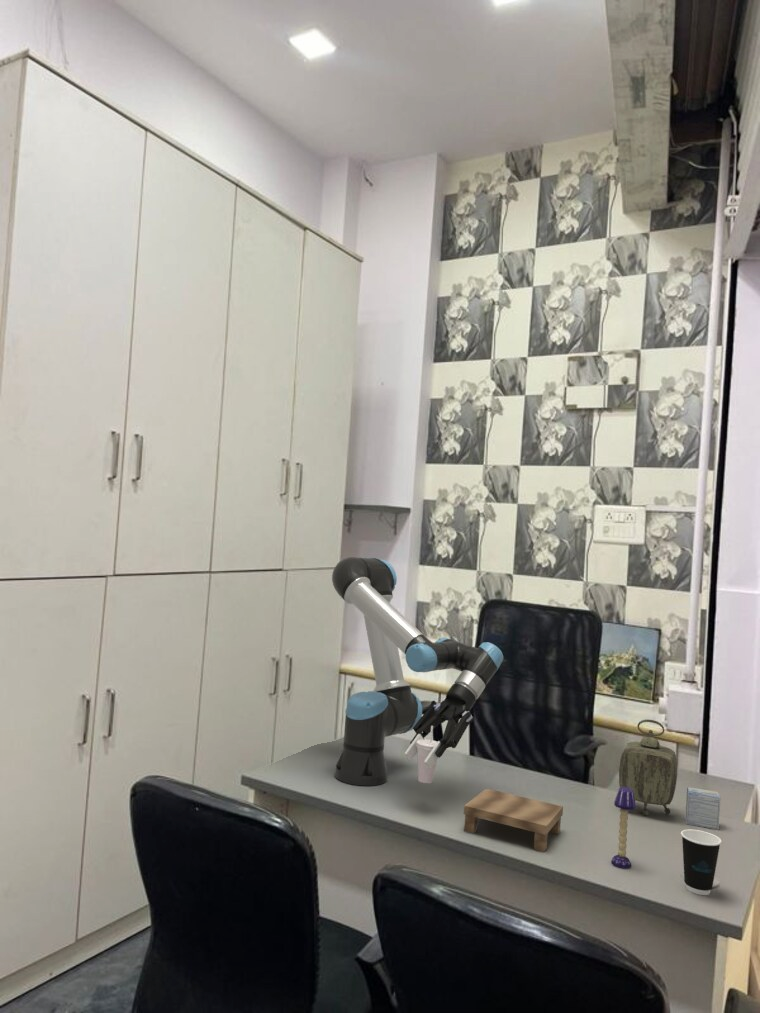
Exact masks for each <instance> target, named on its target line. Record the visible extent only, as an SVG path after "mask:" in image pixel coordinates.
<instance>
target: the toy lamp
mask: <svg viewBox="0 0 760 1013" xmlns="http://www.w3.org/2000/svg"><path fill="white" fill-rule="evenodd" d="M636 804H637V803H636V800H635V798H634V793H633V790H632V789H631V788H628V787H620V786H619V788H618V789H617V793H616V797H615V799H614V803H613V805H614V806H615V807H616V808H618V809H619V810H620V814H619V824H618V826H619V828H618V833H619V835H618V844H617V846H618V850H617V854H616V855H614V856H613V857H612V858H611V861H610V862H611V865H612V864H613V865H612V866H614V867H616V868H620V869H629V868H632V863H631V860H630V859H629V858H628V857H627V850H626V849H627V841H628V838H627V835H628V829H627V828H628V826H629V824H628V820H629V815H628V814H629V811H633V810H636V809H637V808H636V807H637V805H636Z"/></svg>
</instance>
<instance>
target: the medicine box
mask: <svg viewBox="0 0 760 1013" xmlns="http://www.w3.org/2000/svg"><path fill="white" fill-rule="evenodd" d="M720 810H721V796H720V794H719V792H718V791H714V790H708V789H702V788H695V787H689V786H688V787H687V788H686V804H685V823H686V825H690V826H695V827H700V828H706V829H713V830H720V828H719V827H720Z"/></svg>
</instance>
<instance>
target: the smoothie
mask: <svg viewBox="0 0 760 1013" xmlns="http://www.w3.org/2000/svg"><path fill="white" fill-rule="evenodd" d="M433 732H434V729H433V726H431V732H430V733H429V739H427V738H426V739H425V738H424V739H421V740H417V741H416V746H417V753H416V755H417V781H418V782H420V783H422V784H423V783H424V784H431V783H433V780H434V775H435V771H436V766H437V761H438V759H437V760H436V762H435V763H434V765H433V766H432V768H431V769H429V768H428V767H427V765H426V764H425V762H424V761H425V759H426V758H427V756H428V755H429V753H430V752H431V750H432V749H433V748H434V746H435V745H436V743H437V742H438V741H436V740H433V736H434V734H433Z"/></svg>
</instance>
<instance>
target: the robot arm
mask: <svg viewBox="0 0 760 1013" xmlns="http://www.w3.org/2000/svg"><path fill="white" fill-rule="evenodd" d="M331 574H332V575H331V580H332V581H331V582H332V586H333V588H334V590H335V592H336V593H337V594H338V595H339V596H340V598H342V600H343V601H345V603H347V604H349V605H353V606H354V607H355V608H357V610H359V611H360V612H361V613H362V615H363V617H364V618H363V620H364V625H365V630H366V635H367V640H368V641H367V642H368V646H369V651H370V657H371V663H372V668H373V673H374V679H375V683H376V685H375V687H374V688H373V690H372V691H359V692H356V693H353V694H351V695H350V696H349V697H348V699H347V702H346V708H345V718H344V719H345V720H344V731H343V732H344V733H343V746H342V750H341V753H340V755H339V758H338V759H337V760H338V761H337V762H336V765H335V768H334V777H335V778H336V779H337V780H338V779H339V780H338V781H340V782H342V783H345V784H348V785H354V786H366V787H367V786H368V787H369V786H370V787H371V786H379V785H383V784H385V783H386V782H387V781H388V780H389V779H388V776H389V770H388V766H387V762H386V757H385V752H384V750H385V749H384V748H385V737H390V736H391V737H392V736H395V735H402V734H405V733H408V732H410V731H412V730H414V732H415V735H414V737H412V739H411V741H410V745H409V746H408V748H407V749H406V751H405V752H404V755H405V756H406V759H408V761H412V760H413V758H414V757H415V756H416V755H417V746H416V741H417V740H421V739H425V738H426V737H427V736H428V735H430V733H431V726H433V730H435V729H436V728H437V727H438V726H439V725H440V724H443V723H445V722H446V721H447V722H446V725H445V729H444V732H443V734H442V738H440V739H439V740H438V741H437V743H436V745H435V746H434V748H433V749H432V750H431V752H430V753H429V755H428V756H427V758H426V759H425V761H424V762H425V764H426V765H427V767H428V768H429V769H431V768H432V766H433V765H434V763H435V762H436V760H437V761H438V759H439V758H441V757H442V756H443V755H444V753H445V751H446V750H447V749H449V748H452V749H455V748H456V747H458V744H459V742H460V741H461V739H462V737H463V735H464V734H465V732H466V730H467V728H468V726H469V725H470V724H471V723H472V722H473V721H474V717H473V716H472V714H471V712H470V711H471V710H472V708H473V707H474V705H475V704H476V702H477V700H478V699H479V697H480V696H481V695H482V693H483V691H484V690H485V688H486V687H487V685H488V683H489V682H490V681H491V679H492V678H493V676H494V675H495V673H497V672H498V670H499V668H500V666H501V665H502V663H503V661H504V655H503V652H502V650H501V649H500V648H499V647H498V646H497V645H495V644H494V643H491V642H488V641H487V642H484V641H483V642H482V643H481V644H480V645H479V646H478V647H475V646H471V645H468V644H465V643H463V642H460V641H457V640H455V639H453V638H449V637H444V636H443V637H439V638H438V639H436V640H435V642H432V641H431V640H430V639H429V638H428V637H427V636H425V635H424V634H423V633H422V632H421V631H420V630H419V629H418V628H417V627H416V626H415V625H414V624H413V623H412V622H410V621H409V619H407V618H406V617H405V616H404V615H403V614H402V613H401V612H400V611H399V610H398V609H397V608H395V606H393V605H392V604H391V601H392V599H393V598H394V595H393V591H394V590H395V587H396V585H397V583H398V581H397V580H398V579H397V578H398V577H397V573H396V571H395V569H394V567H393V566H392V564H391V563H390V562H388V561H387V560H385V559H380V558H378V557H354V556H351V557H345V558H343V559H342V560H340V561H338V563H337V564H336V565H335V567H334V568H333V571H332V573H331ZM399 650H400V651H401V652H402V653H403V654H404V655H405V662H406V664H407V666H408V668H409V669H410V670H411V671H413V672H415V673H430V672H436V671H441V670H450V669H451V670H452V669H454V670H457V671H459V672H460V674H459V675H458V677H456V679H455V681H454V683H453V684H452V685H451V687H450V688H448V691H447V692H446V695H445V698H444V700H442V701H441V702H436V701H435V700H432V701H431V702H430V705H429V706H428V708H427V709H426V711H425V712H424V713H423V706H422V702H421V699H420V698H419V696H417V694H415V693H414V692H412V690H411V689H412V688H411V684H410V683H409V682H407V681H406V680H405V677H404V673H403V668H402V663H401V658H400V657H401V656H400V652H399ZM436 763H437V762H436Z"/></svg>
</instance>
